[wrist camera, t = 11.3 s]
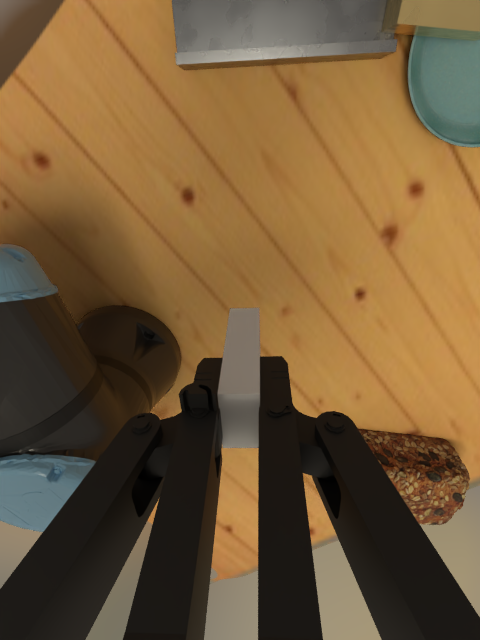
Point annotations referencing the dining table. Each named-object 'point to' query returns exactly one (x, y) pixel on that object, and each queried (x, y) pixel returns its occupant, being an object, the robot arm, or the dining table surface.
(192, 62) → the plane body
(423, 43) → the saucer
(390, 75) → the dining table surface
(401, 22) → the tan rectangular block
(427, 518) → the bread
